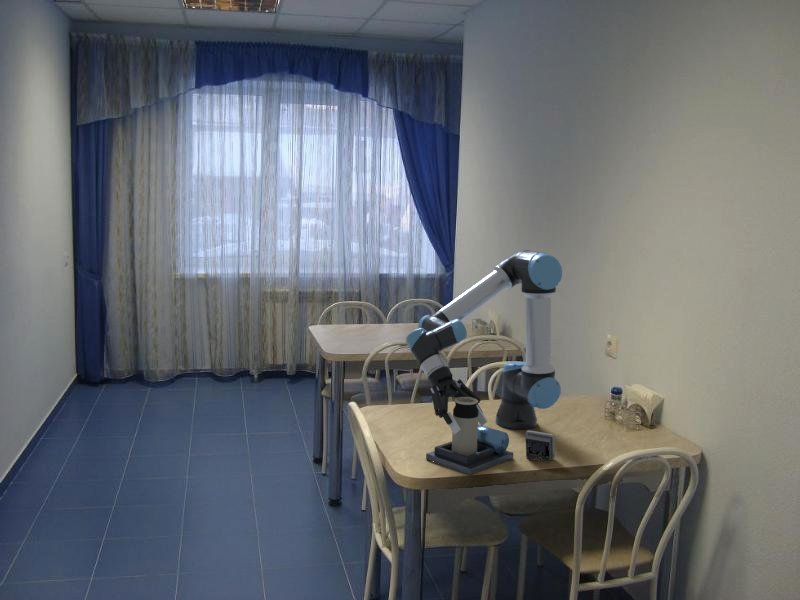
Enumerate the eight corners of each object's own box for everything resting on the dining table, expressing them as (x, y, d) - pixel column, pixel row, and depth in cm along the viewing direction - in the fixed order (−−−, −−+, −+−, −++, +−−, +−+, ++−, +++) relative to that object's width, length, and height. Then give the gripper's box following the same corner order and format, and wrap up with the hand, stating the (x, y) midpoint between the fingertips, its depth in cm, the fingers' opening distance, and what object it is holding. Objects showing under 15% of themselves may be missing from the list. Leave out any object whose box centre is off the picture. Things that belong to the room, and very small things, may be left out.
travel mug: (468, 461, 247) (470, 405, 244) (446, 455, 252) (448, 400, 249) (481, 454, 254) (483, 399, 251) (460, 449, 258) (462, 395, 256)
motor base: (469, 444, 269) (470, 418, 268) (513, 458, 257) (514, 431, 255) (426, 459, 253) (427, 432, 252) (470, 475, 241) (471, 446, 240)
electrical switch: (555, 459, 258) (556, 432, 255) (551, 465, 253) (552, 438, 251) (526, 454, 261) (527, 428, 259) (522, 460, 257) (523, 433, 255)
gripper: (455, 372, 269) (488, 426, 261) (404, 384, 251) (438, 442, 243) (468, 359, 264) (502, 414, 256) (417, 371, 247) (452, 429, 239)
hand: (471, 427), depth 250 cm, fingers open, 13 cm apart
